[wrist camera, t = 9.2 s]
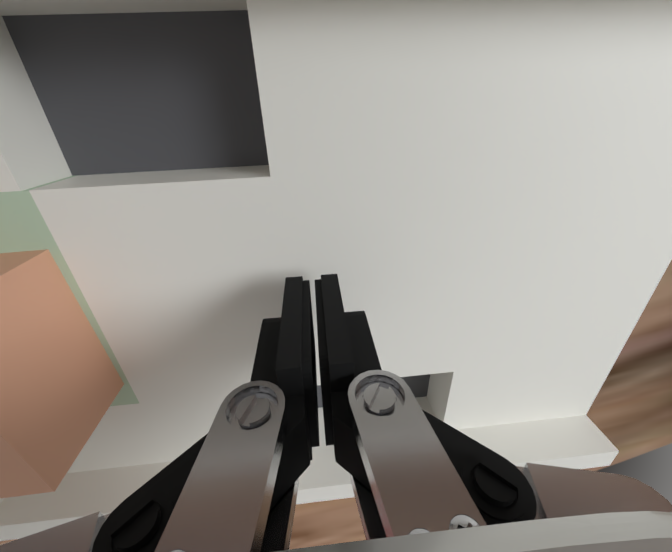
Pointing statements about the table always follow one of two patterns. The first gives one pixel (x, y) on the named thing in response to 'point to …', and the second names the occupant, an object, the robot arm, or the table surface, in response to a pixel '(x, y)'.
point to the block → (46, 375)
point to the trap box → (340, 206)
